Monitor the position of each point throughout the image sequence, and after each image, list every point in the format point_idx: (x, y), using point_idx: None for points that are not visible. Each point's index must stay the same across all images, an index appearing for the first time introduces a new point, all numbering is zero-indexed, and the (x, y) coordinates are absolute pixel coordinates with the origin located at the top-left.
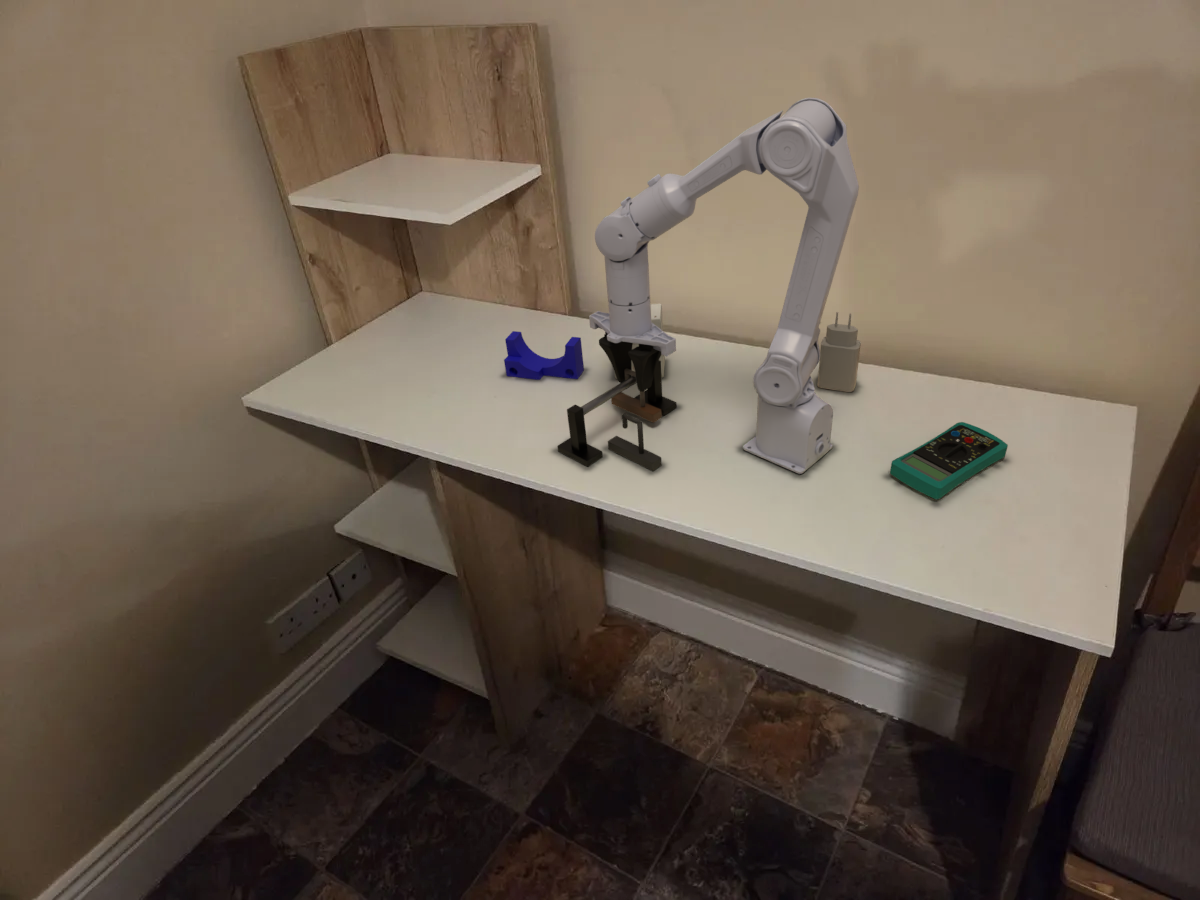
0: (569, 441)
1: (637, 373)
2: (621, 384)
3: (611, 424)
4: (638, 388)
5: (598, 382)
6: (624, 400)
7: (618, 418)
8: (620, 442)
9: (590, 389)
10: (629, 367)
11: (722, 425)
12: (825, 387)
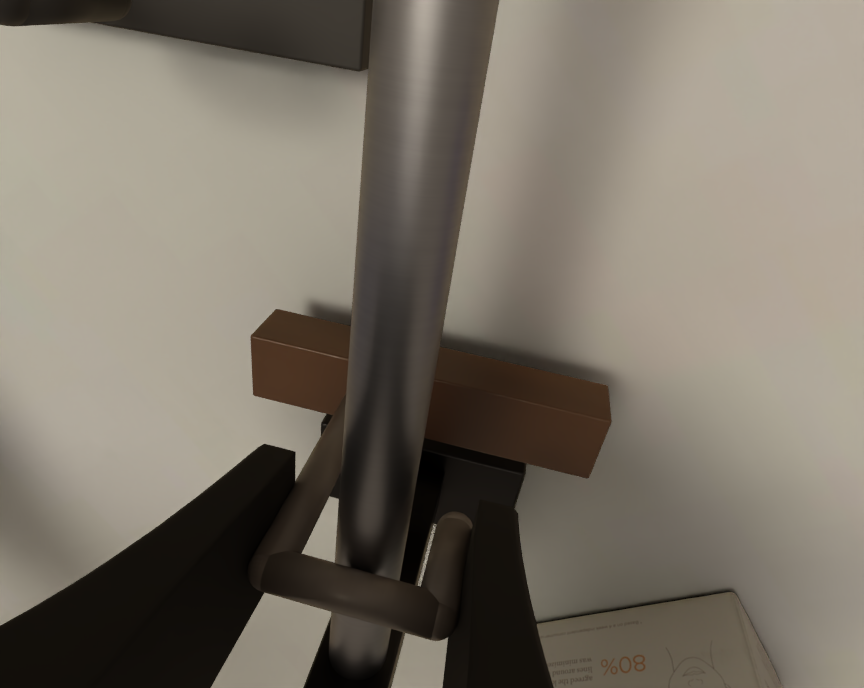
0: None
1: (143, 579)
2: (362, 447)
3: (537, 240)
4: (277, 461)
5: (821, 553)
6: (498, 408)
7: (531, 309)
8: (279, 4)
9: (845, 494)
10: (448, 655)
11: (104, 420)
12: None
